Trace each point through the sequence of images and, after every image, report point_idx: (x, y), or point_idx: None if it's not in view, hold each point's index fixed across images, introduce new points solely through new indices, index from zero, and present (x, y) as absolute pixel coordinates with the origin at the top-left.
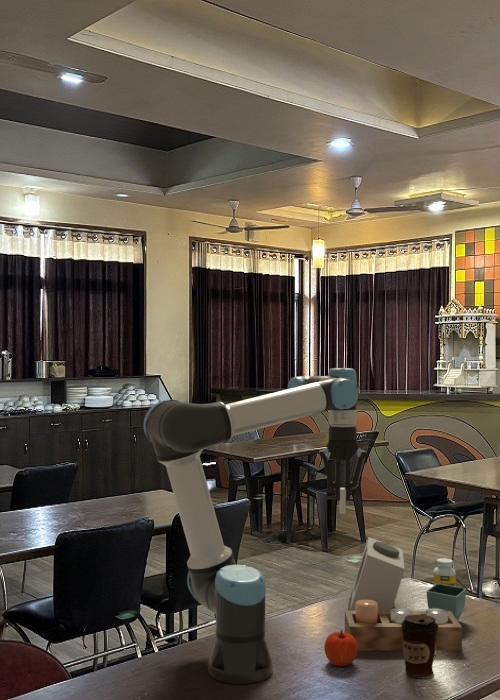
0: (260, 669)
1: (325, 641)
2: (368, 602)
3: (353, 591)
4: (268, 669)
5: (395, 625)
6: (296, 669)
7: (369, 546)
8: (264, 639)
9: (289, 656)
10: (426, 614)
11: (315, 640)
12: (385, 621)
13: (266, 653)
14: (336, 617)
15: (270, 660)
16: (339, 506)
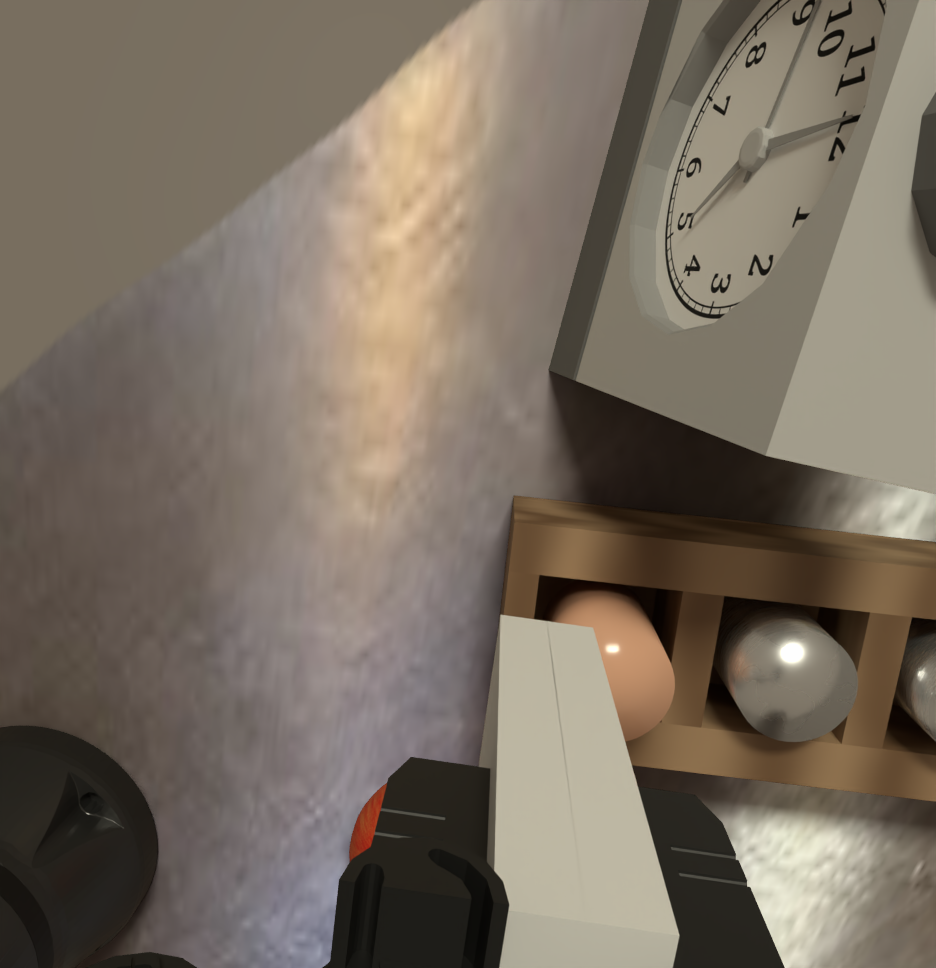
0: (91, 954)
1: (353, 845)
2: (625, 675)
3: (664, 107)
4: (127, 921)
5: (717, 758)
6: (249, 842)
7: (889, 129)
8: (58, 965)
9: (231, 725)
10: (923, 709)
11: (361, 570)
12: (685, 701)
13: (94, 943)
14: (518, 270)
15: (126, 908)
16: (499, 653)
